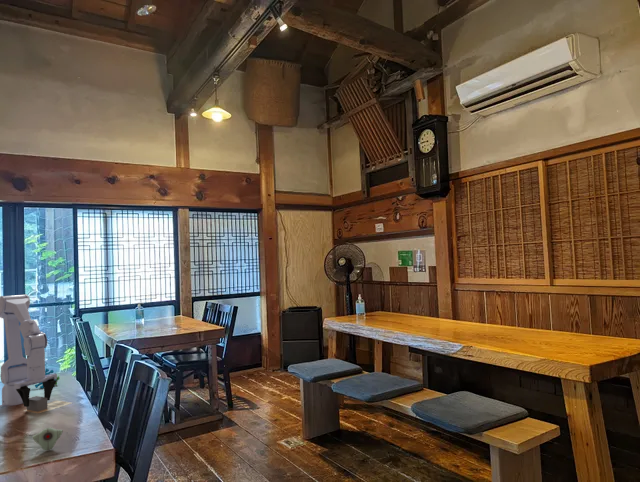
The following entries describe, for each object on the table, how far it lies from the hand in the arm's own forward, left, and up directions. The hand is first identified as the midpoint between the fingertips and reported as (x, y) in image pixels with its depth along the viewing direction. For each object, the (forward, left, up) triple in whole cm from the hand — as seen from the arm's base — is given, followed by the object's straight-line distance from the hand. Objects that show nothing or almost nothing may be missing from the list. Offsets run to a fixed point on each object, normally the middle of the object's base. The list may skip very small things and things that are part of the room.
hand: (37, 403), depth 169 cm
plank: (0, +4, -4) cm, 6 cm away
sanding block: (0, 0, -3) cm, 3 cm away
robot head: (+40, -20, -4) cm, 45 cm away
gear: (-37, +25, -4) cm, 45 cm away
